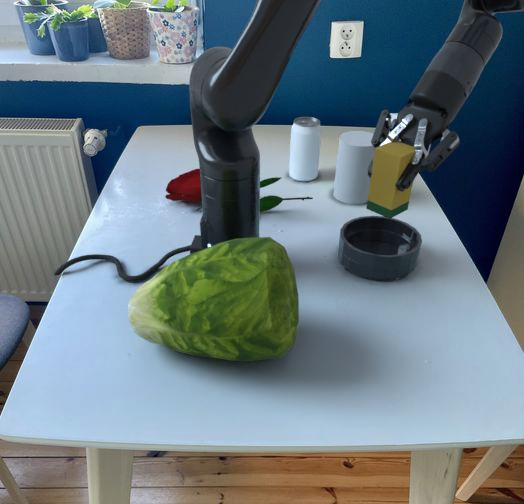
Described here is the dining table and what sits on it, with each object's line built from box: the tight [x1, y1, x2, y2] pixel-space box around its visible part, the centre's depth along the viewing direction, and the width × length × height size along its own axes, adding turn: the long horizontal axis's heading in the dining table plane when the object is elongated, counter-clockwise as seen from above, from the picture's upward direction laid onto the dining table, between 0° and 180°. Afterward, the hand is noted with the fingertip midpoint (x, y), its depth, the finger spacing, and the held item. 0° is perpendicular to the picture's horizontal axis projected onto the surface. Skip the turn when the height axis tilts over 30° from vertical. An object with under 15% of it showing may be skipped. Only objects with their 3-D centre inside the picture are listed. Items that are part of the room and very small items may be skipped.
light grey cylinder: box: [333, 130, 375, 205], centre depth 110 cm, size 8×8×12 cm
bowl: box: [337, 215, 423, 282], centre depth 94 cm, size 14×14×5 cm
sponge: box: [366, 141, 415, 219], centre depth 85 cm, size 5×5×10 cm
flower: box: [164, 168, 314, 213], centre depth 106 cm, size 9×10×30 cm
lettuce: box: [127, 236, 300, 362], centre depth 73 cm, size 17×23×16 cm
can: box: [288, 116, 322, 183], centre depth 117 cm, size 6×6×12 cm
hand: (385, 182), depth 84 cm, fingers closed on sponge, 4 cm apart
